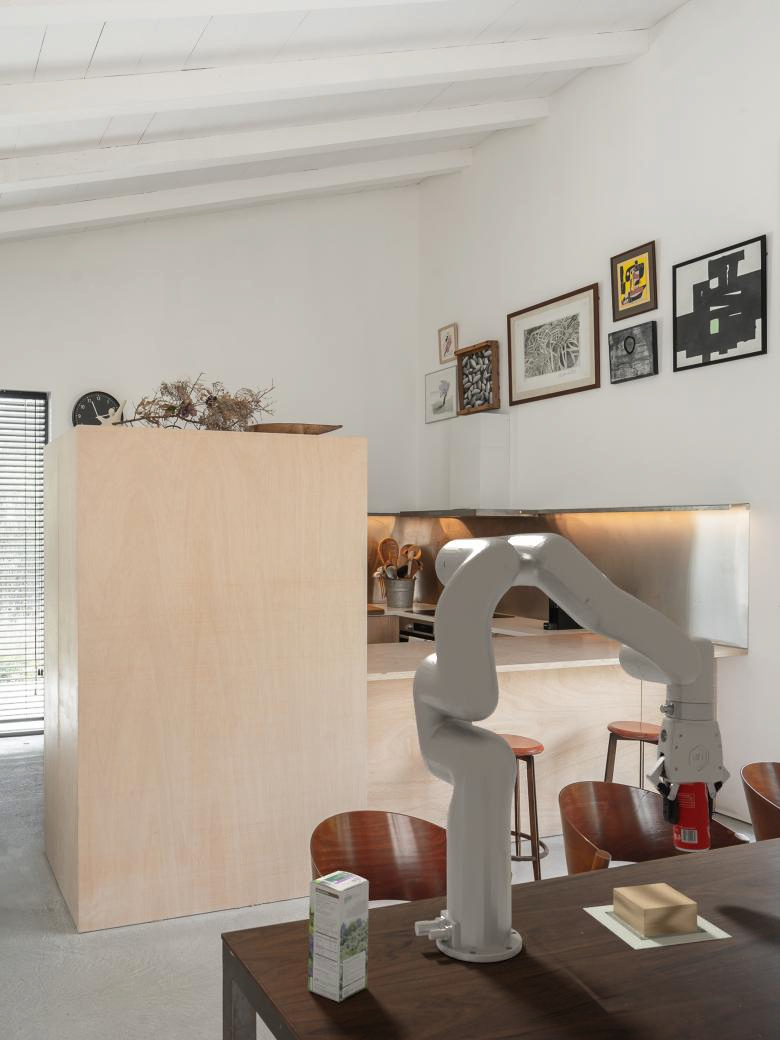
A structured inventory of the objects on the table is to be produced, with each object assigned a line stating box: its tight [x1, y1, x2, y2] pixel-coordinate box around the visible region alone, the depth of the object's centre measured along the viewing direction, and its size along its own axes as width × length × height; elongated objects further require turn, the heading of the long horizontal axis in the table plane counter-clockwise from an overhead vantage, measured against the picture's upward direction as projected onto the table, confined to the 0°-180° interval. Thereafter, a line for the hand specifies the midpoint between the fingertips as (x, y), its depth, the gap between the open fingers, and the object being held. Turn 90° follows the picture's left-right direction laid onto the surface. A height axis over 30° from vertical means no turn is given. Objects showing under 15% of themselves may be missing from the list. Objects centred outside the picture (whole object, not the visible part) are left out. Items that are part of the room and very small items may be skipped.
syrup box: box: [307, 870, 370, 1003], centre depth 124 cm, size 6×6×14 cm
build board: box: [582, 904, 732, 951], centre depth 143 cm, size 16×16×1 cm
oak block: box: [612, 882, 698, 937], centre depth 144 cm, size 9×9×4 cm
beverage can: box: [672, 782, 711, 853], centre depth 155 cm, size 6×6×15 cm
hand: (687, 820), depth 155 cm, fingers closed on beverage can, 5 cm apart
